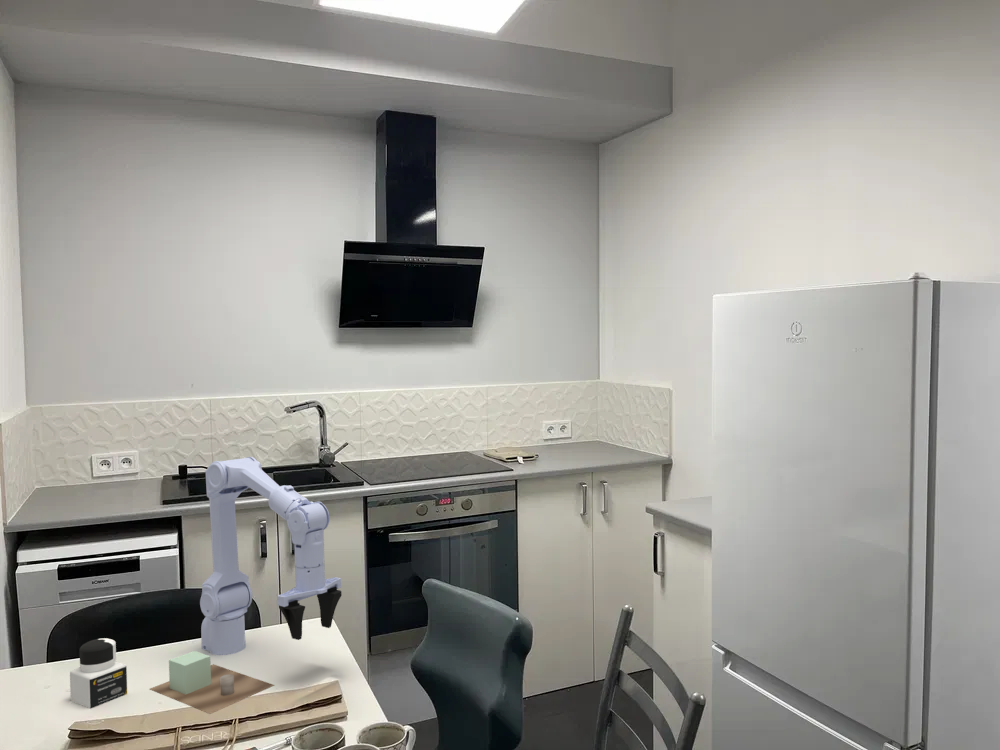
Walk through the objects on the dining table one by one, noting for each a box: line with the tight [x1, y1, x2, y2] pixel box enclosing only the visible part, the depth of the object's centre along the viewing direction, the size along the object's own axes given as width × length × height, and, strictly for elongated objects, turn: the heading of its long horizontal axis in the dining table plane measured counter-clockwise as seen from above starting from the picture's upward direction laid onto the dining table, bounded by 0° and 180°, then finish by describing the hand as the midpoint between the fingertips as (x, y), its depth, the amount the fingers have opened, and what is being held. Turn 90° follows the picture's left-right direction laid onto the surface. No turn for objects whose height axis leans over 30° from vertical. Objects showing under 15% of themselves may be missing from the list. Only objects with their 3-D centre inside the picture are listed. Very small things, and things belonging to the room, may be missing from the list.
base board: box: [149, 663, 275, 715], centre depth 142 cm, size 20×14×4 cm
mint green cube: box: [168, 650, 212, 695], centre depth 143 cm, size 5×5×6 cm
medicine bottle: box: [69, 637, 128, 709], centre depth 139 cm, size 7×7×12 cm
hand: (311, 632), depth 146 cm, fingers open, 7 cm apart
